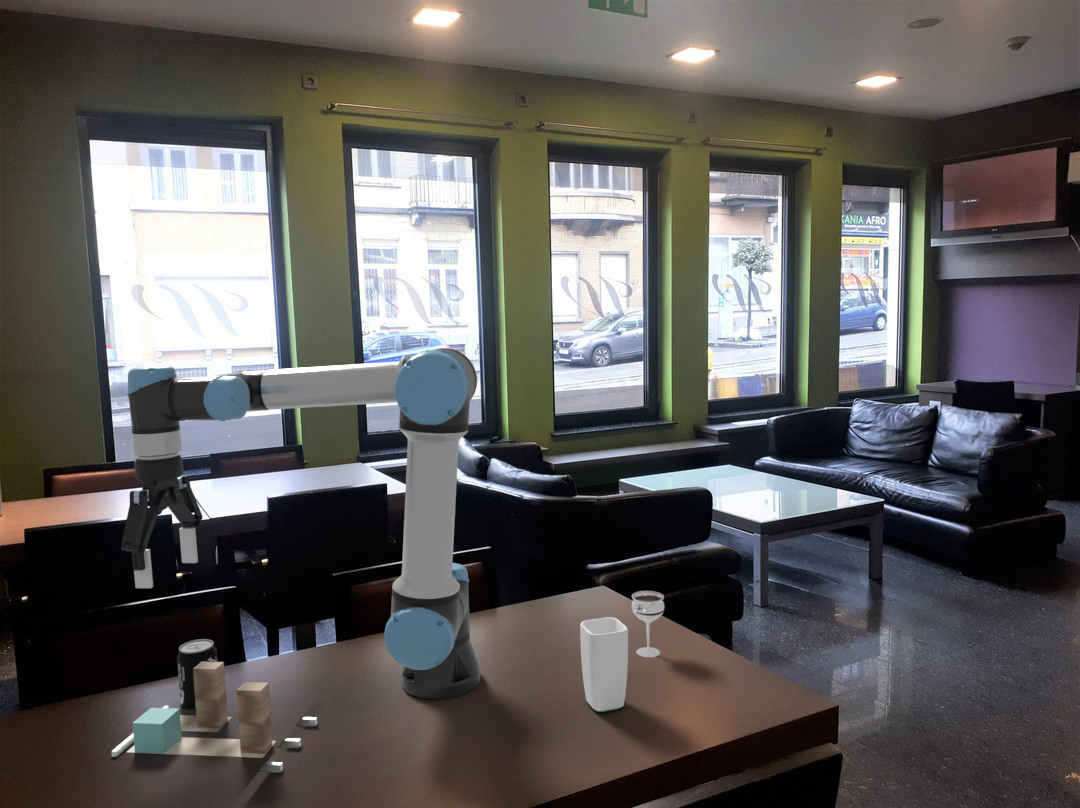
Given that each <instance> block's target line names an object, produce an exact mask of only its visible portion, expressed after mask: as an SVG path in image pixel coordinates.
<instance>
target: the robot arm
mask: <svg viewBox="0 0 1080 808" xmlns="http://www.w3.org/2000/svg"><path fill="white" fill-rule="evenodd" d="M477 385H478V375H477V370H476V369H475V367H474V364H473V362H472V361H471V359H469V358H468V357H467V355H465V354H463V352H460V351H459V350H457V349H452V348H448V347H445V348H444V347H442V348H441V347H440V348H436V349H430V350H429V349H426V350H423V351H420V352H418V353H416V354H410V355H409V354H407V355H403V356H401V358H400V359H399V360H396V361H383V362H382V361H381V362H368V363H366V362H365V363H354V364H353V363H351V364H340V365H339V364H337V365H334V364H333V365H322V366H321V365H320V366H307V367H306V366H305V367H293V368H292V367H291V368H276V369H267V370H265V369H263V370H262V369H261V370H260V369H259V370H252V369H244V370H239V371H236V372H231V373H224V374H216V375H211V376H196V377H194V376H193V377H180V376H177V374H176V369H175V368H174V367H173V366H171V365H167V366H165V365H164V366H163V365H161V366H159V365H158V366H157V365H156V366H141V367H133V368H132V369H130V370H129V371H128V373H127V394H126V395H127V398H128V402H129V412H130V422H131V423H130V424H131V432H132V433H131V434H132V445H133V447H132V448H133V455H134V456H135V457H137V458H135V460H134V472H135V479H136V480H137V481H140V483H142V488H141V490H131V491H130V492H129V508H128V510H127V511H128V512H127V516H126V521H125V526H124V530H123V535H122V539H121V546H120V550H121V551H125V552H130V553H131V564H132V570H133V574H134V583H135V585H134V586H135V588H136V589H152V588H153V587H154V581H153V580H154V578H153V569H152V558H151V557H152V556H151V549H150V548H147V547H148V544H149V542H150V538H151V536H152V533H153V530H154V527H155V525H156V522H157V519H158V517H159V515H161V514H162V513H163V511H164V510H166V509H167V508H168V509H169V510H170V512H171V513H172V514H173V515H174V517H175V518H176V519H177V521H179V523H180V524H181V527H180V528H178V532H179V542H180V543H179V544H180V556H181V563H182V564H196V563H198V562H199V559H198V546H197V533H196V531H197V530H196V527H201V526H202V520H203V514H202V510H201V509H200V506H199V504H198V502H197V499H196V497H195V494H194V492H193V489H192V487H191V481H190V477H189V475H184V463H183V462H184V461H183V456H182V455H181V454H179V453H181V452H182V450H183V447H182V438H181V429H180V428H181V426H180V422H186V421H191V422H192V421H220V422H226V421H231V420H239V419H242V418H244V417H245V416H246V414H247V412H259V411H270V410H287V409H289V410H290V409H298V408H299V409H302V408H303V409H304V408H318V407H319V408H320V407H323V408H324V407H338V406H341V407H342V406H356V405H370V404H371V405H373V404H375V405H377V404H390V403H391V404H392V403H397V406H398V408H399V422H398V423H399V424H398V429H399V430H400V432H401V433H402V434H403V435H404V436H405V437H406V439H407V451H406V452H407V453H406V473H405V493H404V494H405V495H404V496H405V498H404V516H403V517H404V519H403V541H402V543H403V544H402V560H401V561H402V565H401V566H402V567H401V575H399V577H398V578H396V579H395V581H393V582H392V589H391V591H392V592H391V610H390V617H389V618H388V620H387V622H386V624H385V627H384V636H383V638H384V645H385V648H386V650H387V652H388V654H389V655H390V657H391V658H393V659H394V660H395V662H397V663H398V664H399V665H401V666H402V669H401V686H402V689H403V691H405V692H406V693H408V694H409V695H410V696H414V697H417V698H421V699H430V700H437V699H447V698H453V697H457V696H458V697H459V696H460V695H463V694H466V693H468V692H470V691H471V690H473V689H475V687H477V686H478V685H479V684H480V682H481V667H480V663H479V660H478V658H477V655H476V653H475V650H474V647H473V645H472V642H471V630H470V629H471V628H470V624H471V623H470V605H469V604H470V600H469V599H470V598H469V596H470V595H469V583H470V579H469V575H468V570H467V569H468V568H466V566H464V565H463V564H462V563H461V564H460V563H456V562H453V561H454V560H453V559H454V558H453V557H454V538H455V537H454V536H455V520H456V519H455V518H456V501H457V500H456V498H457V480H458V463H459V462H458V461H459V460H458V458H459V441H460V440H461V439H463V437H464V436H465V435H466V434H468V432H469V421H470V403H471V400H472V399H473V397H474V395H475V393H476V390H477V387H478V386H477Z"/></svg>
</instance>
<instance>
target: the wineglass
mask: <svg viewBox="0 0 1080 808" xmlns="http://www.w3.org/2000/svg"><path fill="white" fill-rule="evenodd" d="M631 598H632V602H631V610H632V613H633V614H634V616H635V617H636V618H637V619H639V620H641V621H643V622H644V623H645V626H646V629H645V630H646V647H645V646H644V647H640V648H638V649H637V650H636V651H635V653H636V654H637V655H638V656H640V657H643V658H656V657H658V656H660V654H661V651H660V650H659V649H657V648H655V647H650V633H651V632H650V630H651V623H653V622H654V621H657V620H658V619H659V618H660V617H661V616H663V613H664V612H665V602H664V601H663V600H664V599H665V596H664V594H662V593H661V592H658V591H655V590H654V591H653V590H640V591H636V592H634V593H632V594H631Z"/></svg>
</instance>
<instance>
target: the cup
mask: <svg viewBox="0 0 1080 808" xmlns="http://www.w3.org/2000/svg"><path fill="white" fill-rule="evenodd" d="M579 628H580V629H579V630H580V633H579V635H580V659H581V672H582V680H583V681H582V682H583V687H584V694H585V699H586V702H587V703H588V704H589V705H590V707H591V708H592V709H593V710H594V711H596V712H598V713H603V712H604V713H605V712H610V711H615V710H619V709H620V708H623V707H624V705H625V700H626V699H625V698H626V690H627V681H628V669H629V668H628V667H629V666H628V665H629V662H628V661H629V628H628V627H627V626H626V625H625V624H624V623H622V622H621V620H619V619H618V618H616V617H612V616H608V617H607V616H606V617H605V616H604V617H600V618H593V619H587V620H583V621H581V622H580V625H579Z"/></svg>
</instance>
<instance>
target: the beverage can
mask: <svg viewBox="0 0 1080 808" xmlns="http://www.w3.org/2000/svg"><path fill="white" fill-rule="evenodd" d="M178 650H179V651H178V653H177V655H176V660H177V661H176V662H177V674H178V675H177V676H178V687H179V689H178V690H179V699H180V702H179V703H180V707H181V708H182V709H185V710H193V711H194V710H195V711H196V703H195V689H194V676H193V668H194V667H196V666H197V665H198V664H199V663H201V662H218V654H217V653H218V651H217V648H216V647H215V646H214V641H213V640H212V639H207V638H201V639H193V640H189V641H187V642H184V643H183V644H181V645H179V647H178Z"/></svg>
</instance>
